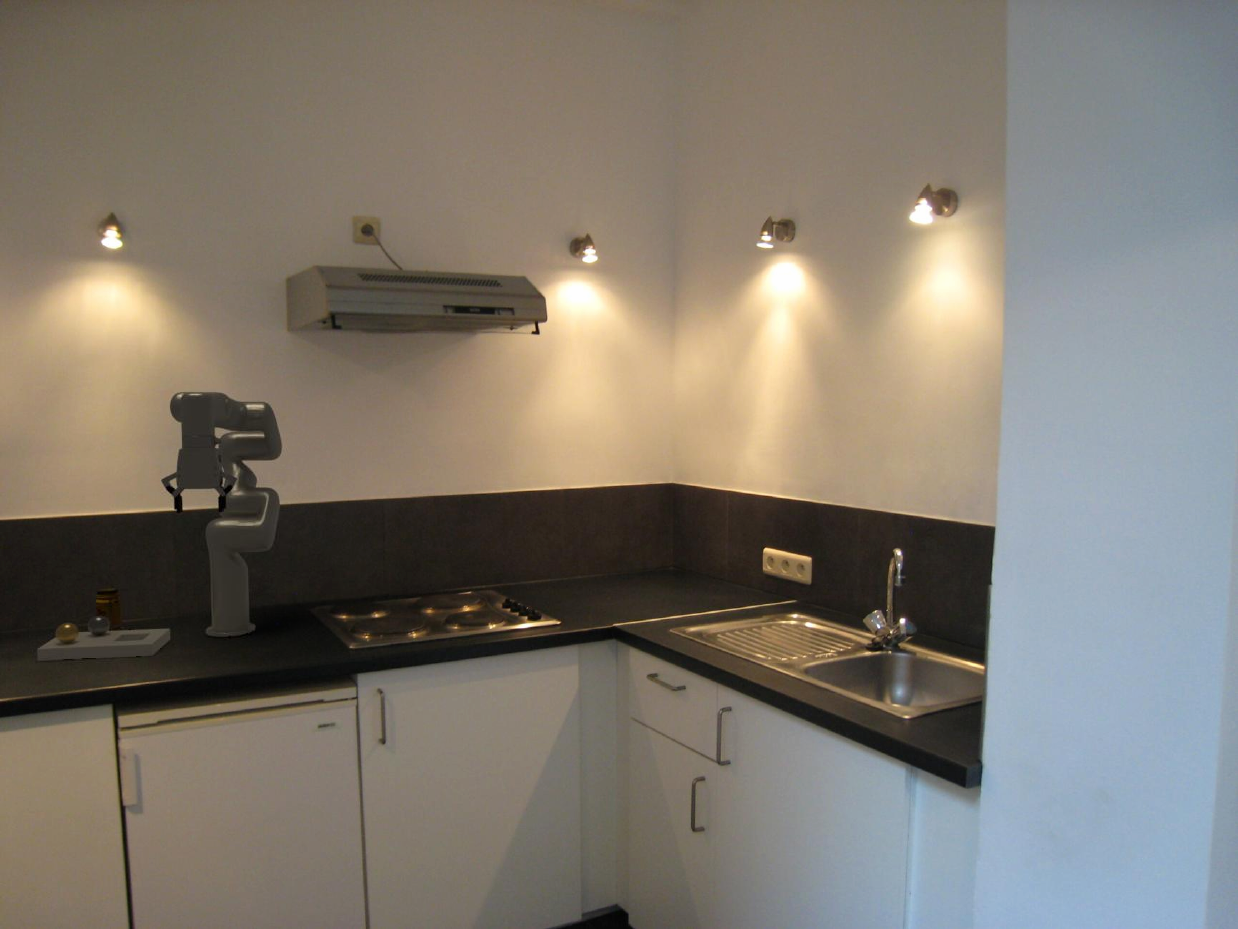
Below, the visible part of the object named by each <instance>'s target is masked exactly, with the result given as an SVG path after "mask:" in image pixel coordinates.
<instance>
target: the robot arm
mask: <svg viewBox="0 0 1238 929" xmlns="http://www.w3.org/2000/svg"><path fill="white" fill-rule="evenodd" d="M169 410H170V414H171V417H173V419H174V420H175V421H176V422H178V423H181V448H179V450H178V454H177V461H176V471H175V472H173V473H171V474H170V475H168V476H166V477H164V478H161V480H160V481H161V484H162V485H163V486H164V488H165V490H166V491H167V492H168V493H169V494H170V495H171V496H172V497H173V509H174V510H176V514H180V513H183V504H184V503H183V496H182V495H181V494H182V493H183V492H184V490H211V489H212V490H215V491H216V492H217V493H218V494H219V496H218V497H217V502H218V504H217V505H218V509H217V510H218V512H219V515H220V517H219V518H216V519H215V518H214V519H213V520H211V521H210V522H209V523H208V524H207V525H206V529H205V540H206V546H207V550H208V555H209V556H208V557H209V567H210V568H209V569H210V600H211V602H210V605H211V606H210V607H211V608H210V609H211V626H209V627H206V629H205V634H206V635H207V636H210V637H213V638H214V637H215V638H229V637H228V636H231V637H236V636H237V637H239V636H243V634H244V635H247V634H246V633H248V634H250V632H251V633H253V632H254V631H256V625H255V624H254V623H251V622H250V602H249V601H250V599H249V596H250V595H249V593H250V591H249V568H248V565H247V563H246V561H245V560H244V558H243V557H242V556H241V554H239V553H261V552H266V551H269V550H270V549H271V548H272V547H273V545H274V542H275V537H276V531H277V526H278V521H279V516H280V509H281V505H280V496H279V493H278V491H276V490H275V489H274V488H272V487H260V486H259V487H258V486H257V483H258V479H257V478H258V477H257V476H256V474H255V473H254V472H253V470H252V469H251V468H250V467H249V466H248V465H246V463H244V462H245V461H246V462H247V461H249V462H251V461H253V462H254V461H255V462H256V461H259V462H260V461H261V462H262V461H264V462H265V461H274V460H277V459H278V458H280V456H281V455H282V451H283V443H282V437H281V433H280V429H279V426H278V420H277V418H276V414H275V412H274V410H273V408H272V406H271V405H270V404H269V403H268V402H266V401H239V400H235V399H233V398H230V397H229V396H228V395H227V394H226V393H223V392H217V391H210V392H209V391H206V392H205V391H180V392H176V393H175V394H173V396H172V397H171V399H170V402H169ZM217 428H218V429H223V430H226V431H229V432H227V433H224V434H222V435H221V436H220V437H217V436H216V429H217ZM217 445H218V447H217V448H216V446H217ZM243 461H244V462H243ZM174 479H176V488H175V487H174V486H172V485H171V482H170V481H172V480H174ZM252 631H253V632H252Z"/></svg>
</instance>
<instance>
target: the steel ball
mask: <svg viewBox="0 0 1238 929" xmlns="http://www.w3.org/2000/svg"><path fill="white" fill-rule="evenodd" d="M109 627H110V622H109V620H108V619H107V618H106V617H104V616H96V615H95V616H93V617H92V618H90V620H89V621H88V623H87V630H88V632H91V633H92V634H94V635H102V634H104V633H106V632H107V631H108V630H109Z"/></svg>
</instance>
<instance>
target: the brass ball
mask: <svg viewBox="0 0 1238 929" xmlns="http://www.w3.org/2000/svg"><path fill="white" fill-rule="evenodd" d="M79 632H80V631H79V628H78V626H77V625H76V624H75V623H71V622H64V623H62V624H60V625H59V626H57V629H56V630H55V638H57V639H58V640H59V641H60V642H62V643H70V642H73V641H74V640H75V639H76V638H77V637H78V634H79Z"/></svg>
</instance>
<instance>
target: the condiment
mask: <svg viewBox="0 0 1238 929" xmlns="http://www.w3.org/2000/svg"><path fill="white" fill-rule="evenodd" d="M119 591H120V590H119V589H118V588H116V587H105V588H100V589H97V590H96V601H95V616H104V617H106V618H107V619H108V620H109V622H110V627H109V630H108V631H121V628H123V627H122V625H123V624H122V600H121V598H120V593H119Z"/></svg>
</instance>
